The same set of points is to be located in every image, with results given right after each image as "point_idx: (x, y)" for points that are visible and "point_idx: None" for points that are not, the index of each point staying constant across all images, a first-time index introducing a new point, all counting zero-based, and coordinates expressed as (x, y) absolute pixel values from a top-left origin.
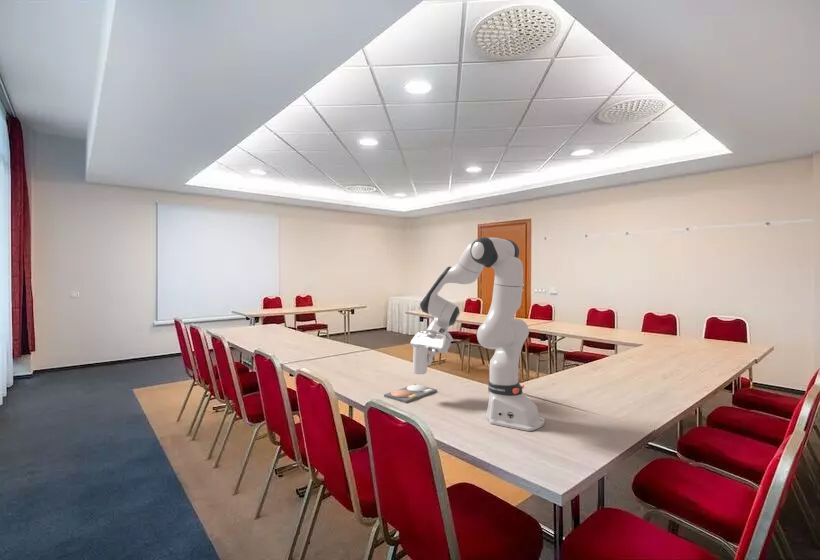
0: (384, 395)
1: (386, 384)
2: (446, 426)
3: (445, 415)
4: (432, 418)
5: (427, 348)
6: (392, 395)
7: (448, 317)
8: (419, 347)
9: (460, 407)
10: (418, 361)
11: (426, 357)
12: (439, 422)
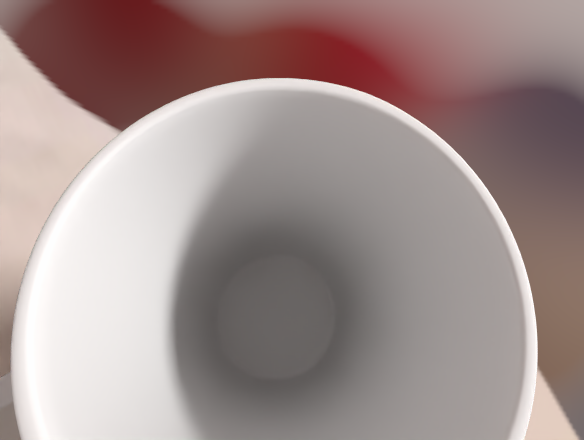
0: None
1: (551, 425)
2: (6, 101)
3: (49, 193)
4: (93, 142)
5: (37, 299)
6: None
7: None
8: (428, 426)
9: (5, 328)
10: (250, 217)
11: (156, 297)
12: (48, 121)
